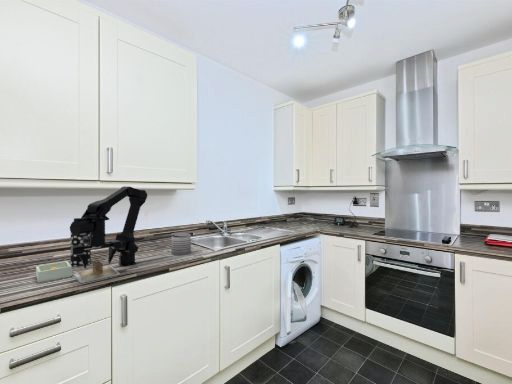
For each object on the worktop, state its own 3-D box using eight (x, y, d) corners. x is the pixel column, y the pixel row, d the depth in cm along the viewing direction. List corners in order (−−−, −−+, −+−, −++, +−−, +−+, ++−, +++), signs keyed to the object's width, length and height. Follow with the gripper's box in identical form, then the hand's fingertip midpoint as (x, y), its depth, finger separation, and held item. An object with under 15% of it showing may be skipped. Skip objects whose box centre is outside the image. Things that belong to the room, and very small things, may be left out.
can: (176, 250, 153) (176, 231, 153) (194, 251, 152) (194, 232, 152) (167, 255, 142) (167, 234, 142) (185, 256, 140) (186, 235, 140)
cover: (108, 267, 118) (108, 257, 118) (116, 273, 109) (116, 263, 109) (78, 273, 109) (78, 263, 109) (84, 280, 101) (84, 269, 101)
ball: (57, 272, 109) (57, 265, 109) (59, 274, 107) (58, 266, 107) (48, 274, 107) (48, 267, 107) (49, 276, 105) (49, 268, 105)
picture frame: (111, 267, 119) (111, 266, 119) (120, 274, 110) (120, 273, 110) (74, 275, 108) (74, 274, 108) (80, 283, 99) (80, 282, 99)
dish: (67, 270, 115) (67, 260, 115) (71, 276, 107) (71, 266, 107) (35, 276, 107) (35, 266, 107) (38, 283, 99) (38, 272, 99)
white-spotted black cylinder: (94, 261, 129) (94, 223, 129) (83, 266, 121) (83, 226, 120) (78, 261, 129) (78, 223, 128) (66, 266, 120) (66, 226, 120)
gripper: (115, 226, 121) (115, 258, 122) (68, 231, 108) (68, 266, 108) (122, 229, 113) (122, 263, 114) (73, 234, 100) (73, 272, 100)
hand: (97, 266), depth 109 cm, fingers open, 9 cm apart
